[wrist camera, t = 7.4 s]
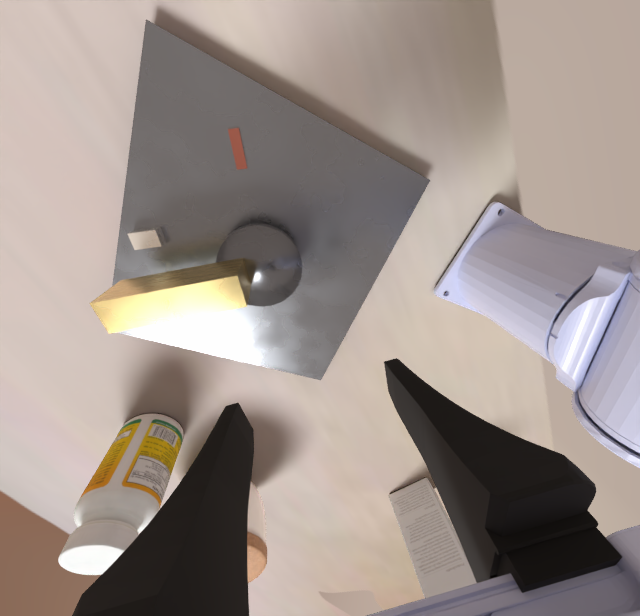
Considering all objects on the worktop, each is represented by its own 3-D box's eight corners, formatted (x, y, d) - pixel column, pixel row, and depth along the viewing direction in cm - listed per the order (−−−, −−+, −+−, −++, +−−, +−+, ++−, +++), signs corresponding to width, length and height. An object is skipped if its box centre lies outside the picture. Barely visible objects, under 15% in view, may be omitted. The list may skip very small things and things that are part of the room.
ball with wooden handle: (292, 216, 16) (297, 229, 13) (307, 293, 19) (314, 320, 15) (112, 248, 16) (68, 270, 12) (152, 323, 18) (125, 359, 15)
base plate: (424, 179, 18) (440, 181, 17) (319, 374, 25) (323, 390, 23) (153, 27, 13) (133, 4, 11) (112, 324, 20) (96, 340, 18)
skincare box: (397, 505, 39) (442, 629, 29) (387, 493, 37) (431, 622, 27) (435, 488, 39) (495, 609, 28) (427, 475, 37) (488, 600, 26)
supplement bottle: (183, 411, 25) (137, 536, 17) (186, 449, 27) (146, 574, 19) (117, 411, 24) (32, 544, 15) (126, 450, 26) (56, 584, 18)
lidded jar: (286, 467, 31) (290, 575, 23) (239, 515, 34) (227, 624, 26) (197, 440, 27) (164, 560, 19) (152, 497, 30) (107, 621, 22)
